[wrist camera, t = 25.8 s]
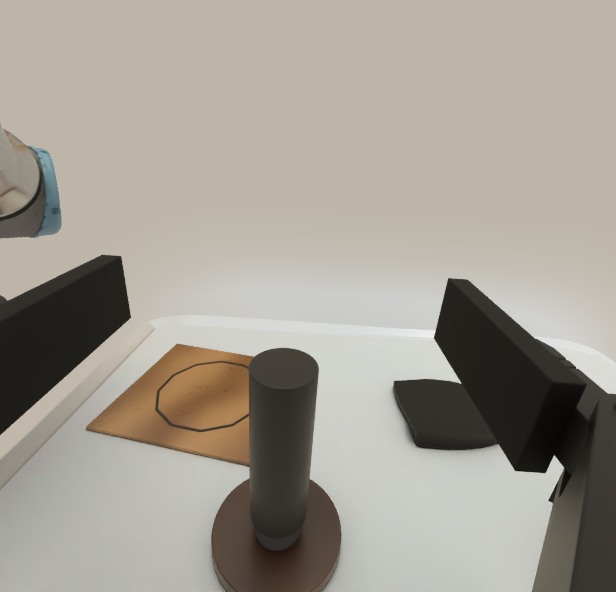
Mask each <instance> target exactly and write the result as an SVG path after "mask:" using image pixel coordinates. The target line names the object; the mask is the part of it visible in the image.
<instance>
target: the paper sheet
mask: <svg viewBox="0 0 616 592" xmlns="http://www.w3.org/2000/svg"><path fill="white" fill-rule="evenodd" d="M253 358H254V357H253V356H247V355H241V354H235V353H229V352H223V351H217V350H211V349H205V348H199V347H193V346H187V345H182V344H176V345H175V346H174V347H173V348H172V349H171V350H170V351H169V352H168V353H166V354H165V355H164V356H163V357H162V358H161V359H160V360H159V361H158V362H157V363H155V364H154V365H153V366H152V367H151V368H150V369H149V370H148V371H147V372H146V373H145V374H143V375H142V376H141V377H140V378H139V379H138V380H137V381H136V382H135V383H134V384H132V385H131V386H130V387H129V388H128V389H127V390H126V391H125V392H124V393H123V394H122V395H120V396H119V397H118V398H117V399H116V400H115V401H114V402H113V403H112V404H111V405H110V406H108V407H107V408H106V409H105V410H104V411H103V412H102V413H101V414H100V415H99V416H97V417H96V418H95V419H94V420H93V421H92V422H91V423H90V424H89V425H88V426H87V427H86V429H87V430H91V431H96V432H100V433H105V434H109V435H114V436H118V437H123V438H127V439H132V440H136V441H140V442H145V443H149V444H154V445H158V446H163V447H167V448H172V449H176V450H181V451H185V452H190V453H194V454H199V455H203V456H208V457H212V458H216V459H221V460H225V461H230V462H234V463H239V464H243V465H248V466H250V460H249V364H250V362H251V360H252V359H253Z"/></svg>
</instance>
